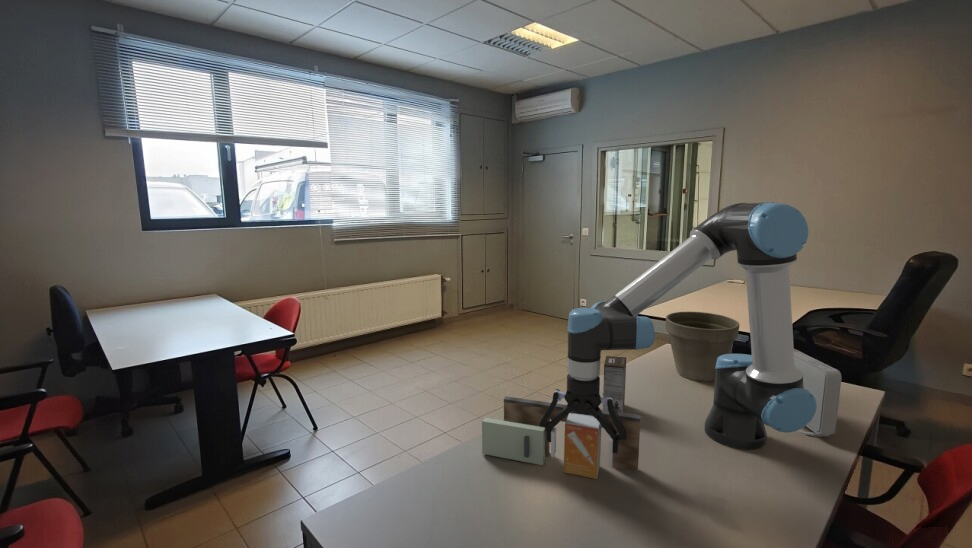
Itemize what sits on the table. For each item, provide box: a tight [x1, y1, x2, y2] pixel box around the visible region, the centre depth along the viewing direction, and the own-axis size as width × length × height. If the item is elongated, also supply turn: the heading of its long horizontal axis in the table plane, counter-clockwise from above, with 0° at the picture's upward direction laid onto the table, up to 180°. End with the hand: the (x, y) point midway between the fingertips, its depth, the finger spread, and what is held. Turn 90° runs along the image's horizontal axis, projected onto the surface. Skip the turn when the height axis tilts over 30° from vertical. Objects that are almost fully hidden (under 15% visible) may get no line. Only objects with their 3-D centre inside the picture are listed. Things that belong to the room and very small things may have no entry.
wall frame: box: [503, 396, 641, 473], centre depth 113 cm, size 34×2×14 cm, turn 70°
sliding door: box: [481, 417, 546, 466], centre depth 113 cm, size 16×3×9 cm, turn 70°
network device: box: [794, 348, 843, 437], centre depth 132 cm, size 26×9×20 cm, turn 178°
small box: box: [563, 412, 602, 480], centre depth 108 cm, size 8×6×13 cm
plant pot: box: [665, 311, 740, 382], centre depth 168 cm, size 25×25×22 cm
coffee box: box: [602, 355, 627, 413], centre depth 140 cm, size 9×6×16 cm
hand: (581, 459), depth 107 cm, fingers open, 13 cm apart
